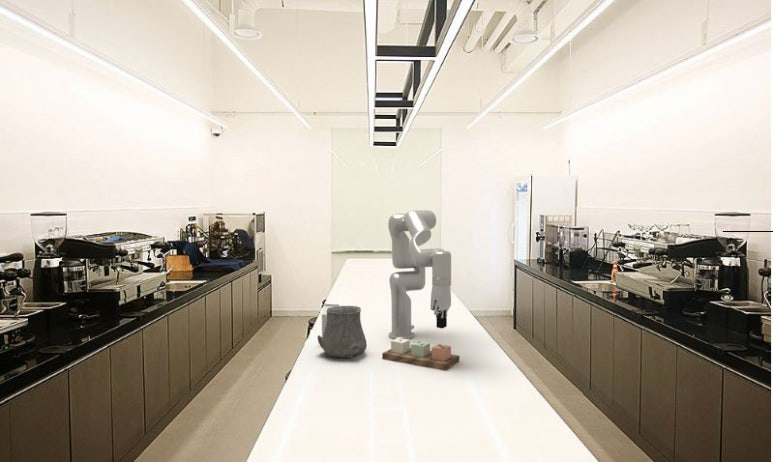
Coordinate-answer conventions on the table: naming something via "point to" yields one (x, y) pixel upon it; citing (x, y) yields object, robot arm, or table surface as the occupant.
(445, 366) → the tray
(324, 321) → the milk carton
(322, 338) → the vessel
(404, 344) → the tile one pip
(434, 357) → the tile three pip
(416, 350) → the tile two pip
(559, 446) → the table surface
